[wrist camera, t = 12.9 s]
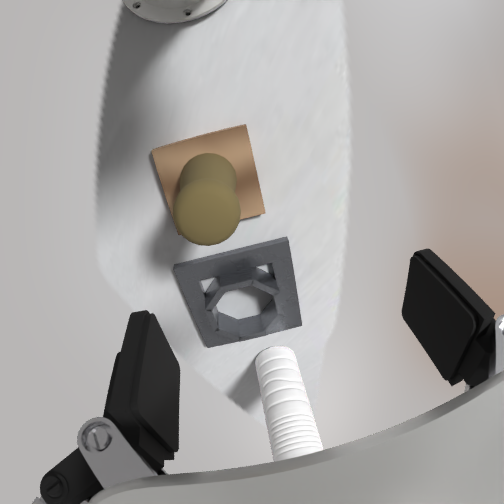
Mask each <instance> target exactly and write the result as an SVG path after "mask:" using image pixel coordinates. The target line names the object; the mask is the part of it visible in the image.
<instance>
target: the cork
mask: <svg viewBox="0 0 504 504" xmlns="http://www.w3.org/2000/svg"><path fill="white" fill-rule="evenodd" d="M236 183H237V177H236V172H235V169H234V168H233V166H232V164H231V163H230V162H229V161H228V160H227V159H226V158H224V157H222V156H220V155H218V154H214V153H204V154H199V155H197V156H195V157H193V158H192V159H190V160H189V161H188V162H187V163H186V164H185V165H184V167H183V169H182V171H181V174H180V192H179V193H178V195H177V198H176V200H175V203H174V205H173V218H174V222H175V225H176V228H177V229H178V231H179V232H180V234H181V235H182V236H183V237H184V238H186V239H187V240H188V241H190V242H192V243H195V244H198V245H205V246H210V245H215V244H219V243H221V242H223V241H225V240H227V239H228V238H229V237H230V236H231V235H232V234H233V233H234V232H235V230H236V228H237V226H238V224H239V222H240V216H241V208H240V203H239V199H238V197H237V196H236V194H235V189H236Z"/></svg>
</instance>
